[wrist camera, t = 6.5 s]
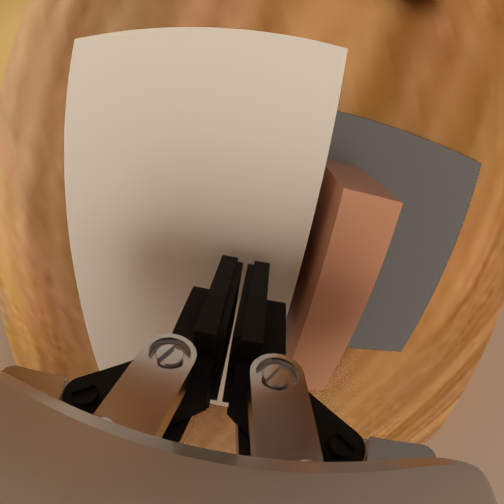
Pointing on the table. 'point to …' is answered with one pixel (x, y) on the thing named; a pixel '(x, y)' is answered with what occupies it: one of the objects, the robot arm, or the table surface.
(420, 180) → the mat
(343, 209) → the tile
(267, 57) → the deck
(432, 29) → the table surface
